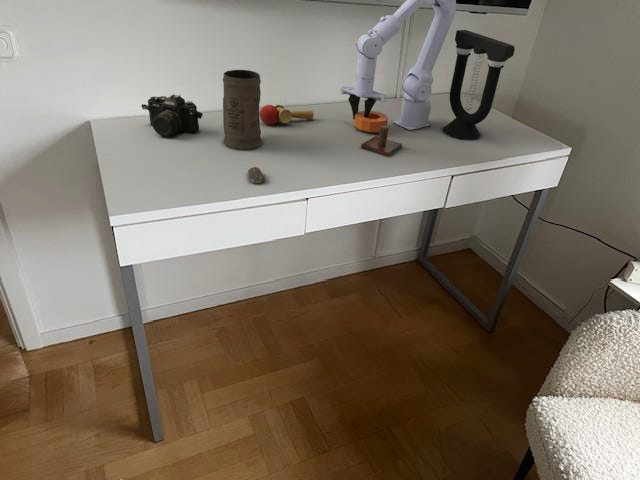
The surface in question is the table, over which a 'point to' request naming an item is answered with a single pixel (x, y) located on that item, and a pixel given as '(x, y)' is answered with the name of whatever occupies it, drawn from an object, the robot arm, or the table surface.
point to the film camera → (172, 115)
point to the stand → (381, 143)
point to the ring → (370, 121)
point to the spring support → (497, 56)
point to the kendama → (282, 114)
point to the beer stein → (241, 109)
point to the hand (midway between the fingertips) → (360, 119)
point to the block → (255, 175)
